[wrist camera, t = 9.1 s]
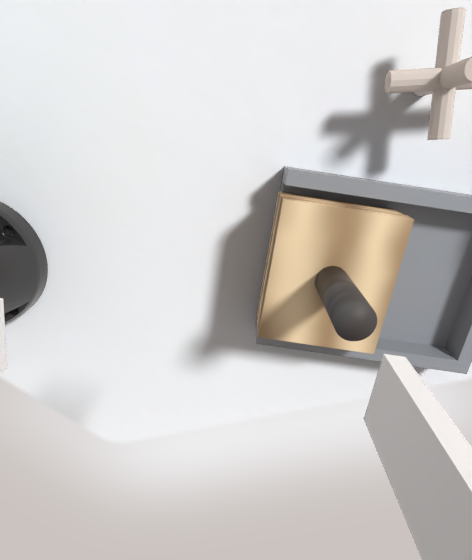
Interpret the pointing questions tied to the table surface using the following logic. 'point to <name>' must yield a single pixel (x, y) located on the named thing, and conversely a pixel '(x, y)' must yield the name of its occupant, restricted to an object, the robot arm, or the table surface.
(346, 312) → the wooden block with peg
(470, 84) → the pipe connector
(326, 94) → the table surface
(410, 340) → the bay
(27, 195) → the table surface
